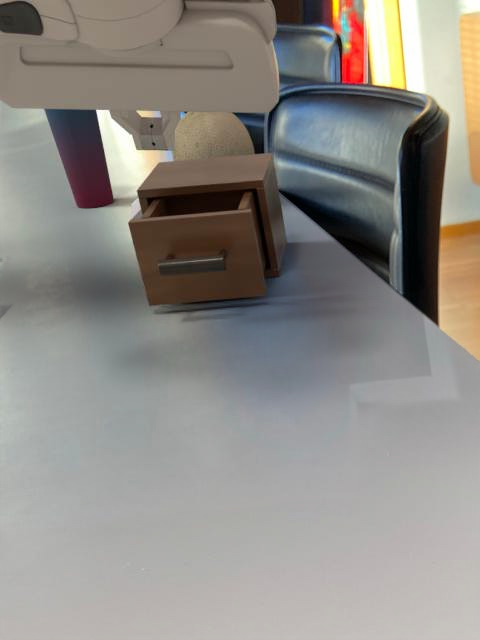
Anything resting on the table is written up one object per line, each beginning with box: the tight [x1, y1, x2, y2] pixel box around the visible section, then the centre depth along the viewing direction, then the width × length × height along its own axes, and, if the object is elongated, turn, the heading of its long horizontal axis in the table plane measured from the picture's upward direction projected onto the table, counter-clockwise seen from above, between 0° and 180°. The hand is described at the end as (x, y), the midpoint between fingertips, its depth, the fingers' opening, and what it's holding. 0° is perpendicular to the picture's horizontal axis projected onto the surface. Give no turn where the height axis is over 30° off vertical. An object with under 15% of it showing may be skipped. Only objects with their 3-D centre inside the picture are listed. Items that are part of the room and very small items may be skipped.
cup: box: [43, 109, 115, 209], centre depth 136 cm, size 7×7×15 cm
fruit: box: [171, 112, 256, 161], centre depth 132 cm, size 10×12×15 cm
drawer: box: [127, 189, 268, 307], centre depth 100 cm, size 17×11×8 cm
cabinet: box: [136, 152, 288, 279], centre depth 110 cm, size 14×13×10 cm
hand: (156, 144), depth 80 cm, fingers closed
